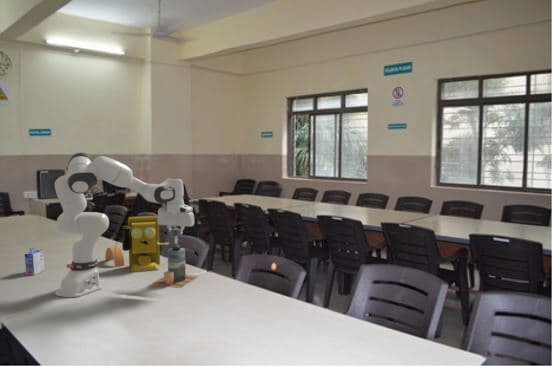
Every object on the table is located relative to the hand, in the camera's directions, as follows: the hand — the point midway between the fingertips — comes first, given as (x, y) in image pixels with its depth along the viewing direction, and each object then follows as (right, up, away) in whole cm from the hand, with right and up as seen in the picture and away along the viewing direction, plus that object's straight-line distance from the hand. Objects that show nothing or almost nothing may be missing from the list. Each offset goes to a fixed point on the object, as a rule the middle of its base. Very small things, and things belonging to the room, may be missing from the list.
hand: (176, 233), depth 240 cm
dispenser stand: (-1, -26, 0) cm, 26 cm away
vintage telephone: (-27, -24, +29) cm, 46 cm away
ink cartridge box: (-85, -25, +20) cm, 91 cm away
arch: (-47, -23, +42) cm, 67 cm away
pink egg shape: (-2, -25, -6) cm, 26 cm away
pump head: (-1, -6, -2) cm, 6 cm away
